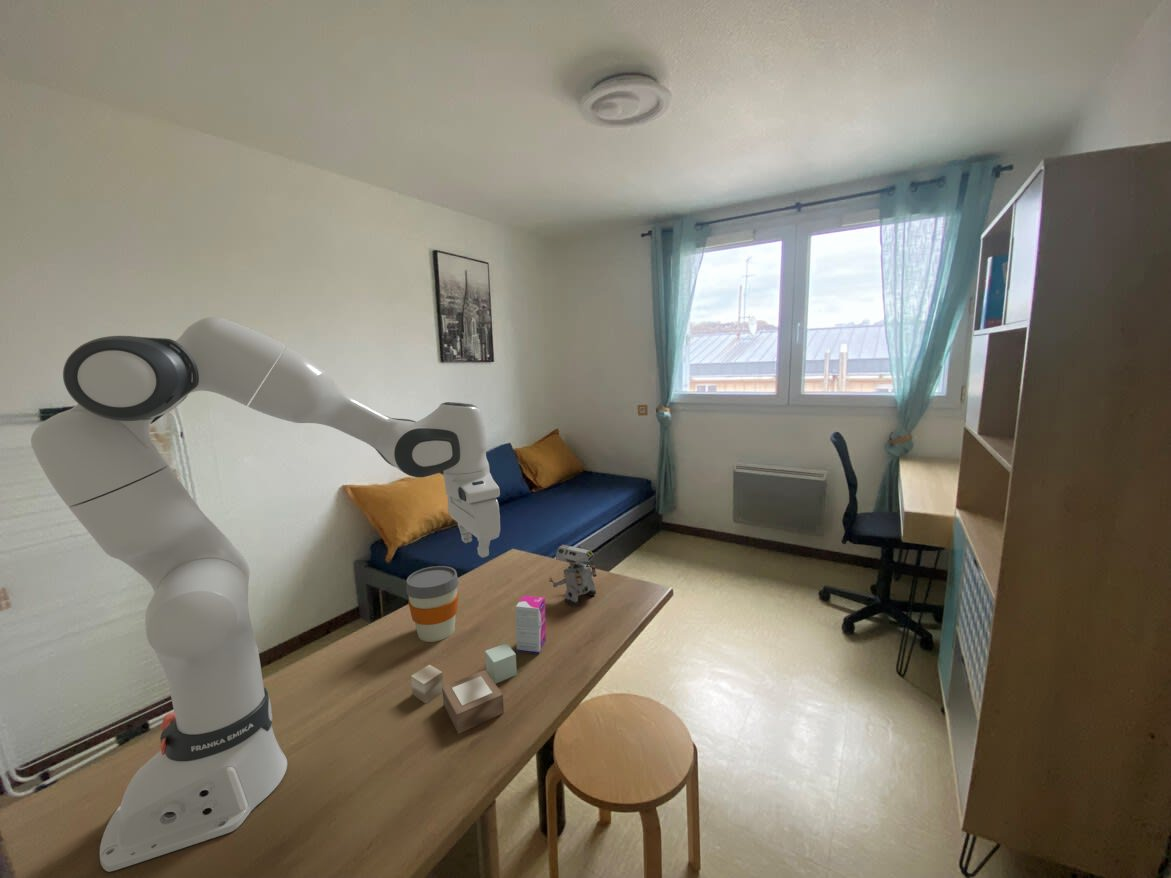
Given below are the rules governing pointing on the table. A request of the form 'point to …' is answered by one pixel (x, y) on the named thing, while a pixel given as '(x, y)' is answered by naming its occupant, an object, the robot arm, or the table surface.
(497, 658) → the sage block
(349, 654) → the table surface
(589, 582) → the figurine
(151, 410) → the robot arm
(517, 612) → the supplement box
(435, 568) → the reusable coffee cup
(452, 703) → the walnut base
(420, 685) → the block
